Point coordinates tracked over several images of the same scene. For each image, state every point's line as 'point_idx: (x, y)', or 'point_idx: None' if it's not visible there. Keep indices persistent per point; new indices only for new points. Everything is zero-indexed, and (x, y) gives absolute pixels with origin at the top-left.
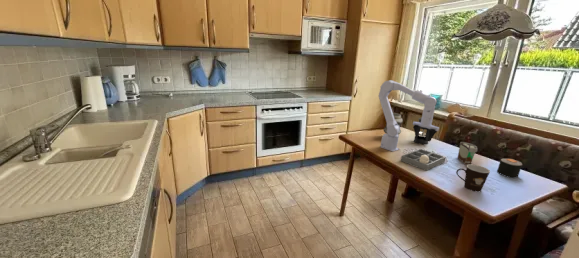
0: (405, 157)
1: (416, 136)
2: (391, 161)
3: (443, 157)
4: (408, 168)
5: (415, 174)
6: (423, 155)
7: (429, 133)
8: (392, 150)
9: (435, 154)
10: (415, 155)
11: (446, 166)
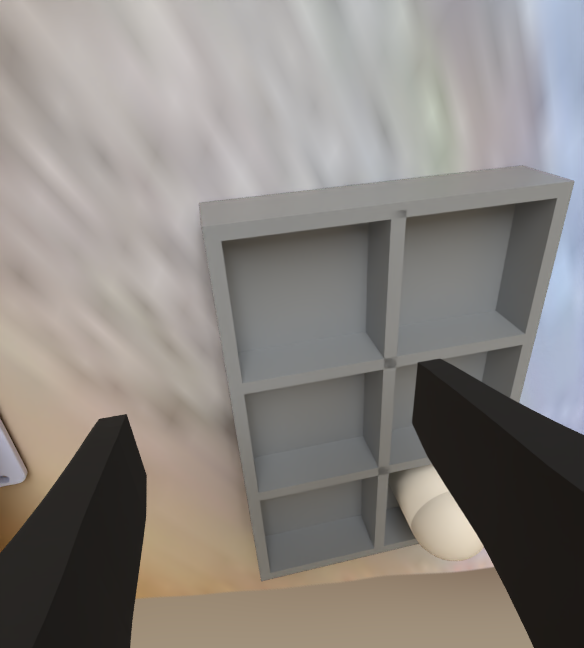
0: (299, 567)
1: (143, 503)
2: (229, 589)
3: (554, 236)
4: (369, 558)
5: (437, 570)
6: (456, 560)
7: (542, 640)
8: (11, 474)
9: (442, 211)
10: (325, 479)
11: (559, 272)
